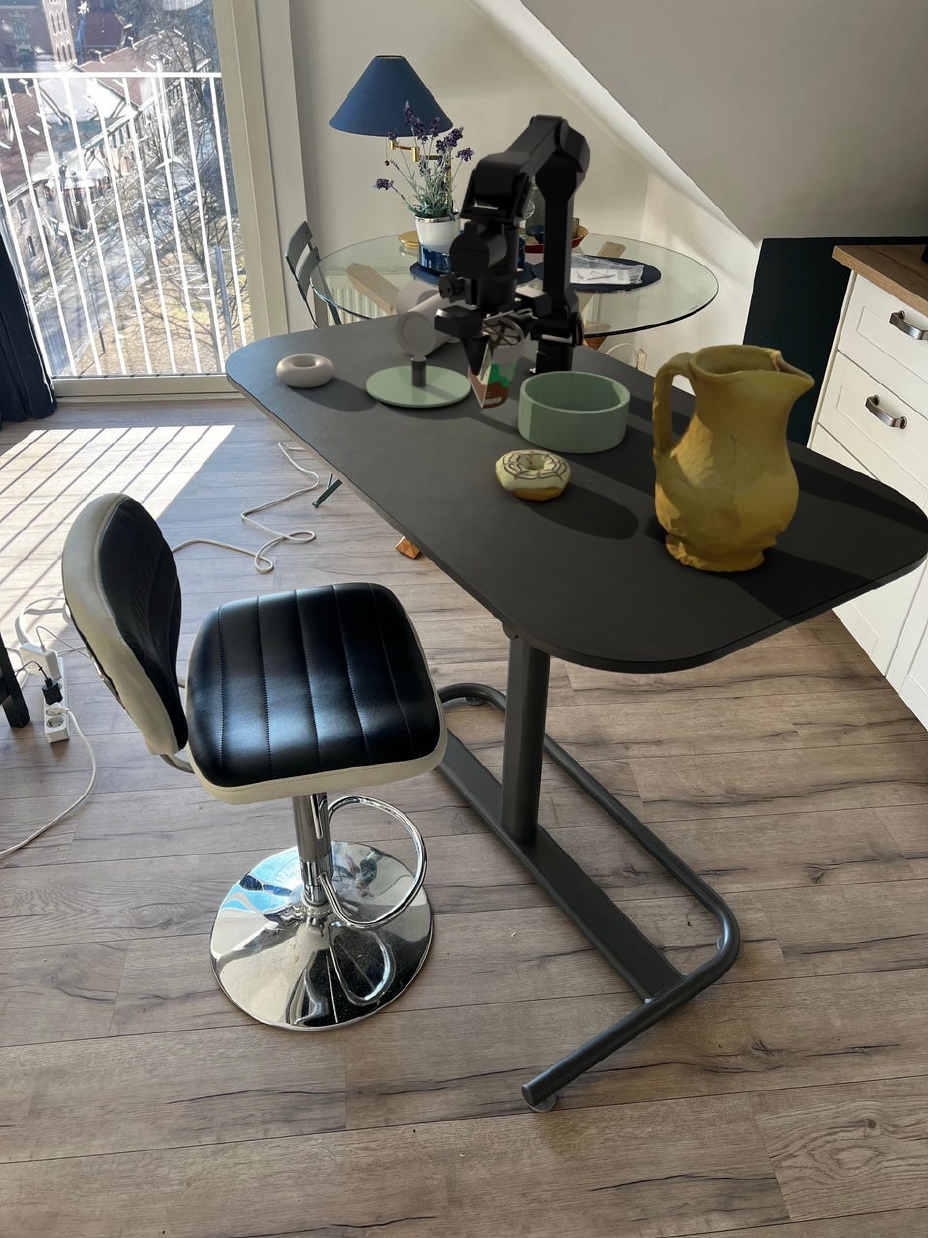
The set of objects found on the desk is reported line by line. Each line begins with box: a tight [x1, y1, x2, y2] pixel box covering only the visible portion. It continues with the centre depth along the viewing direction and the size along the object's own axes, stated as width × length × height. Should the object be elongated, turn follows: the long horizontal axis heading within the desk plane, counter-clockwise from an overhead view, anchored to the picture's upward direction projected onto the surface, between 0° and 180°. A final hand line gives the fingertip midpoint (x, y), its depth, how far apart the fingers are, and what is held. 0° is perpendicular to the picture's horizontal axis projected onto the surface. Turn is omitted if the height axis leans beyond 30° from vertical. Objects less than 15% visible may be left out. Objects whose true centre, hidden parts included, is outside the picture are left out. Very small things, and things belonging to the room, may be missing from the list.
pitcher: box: [651, 343, 816, 573], centre depth 112 cm, size 17×19×25 cm
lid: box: [365, 356, 472, 409], centre depth 157 cm, size 18×18×6 cm
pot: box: [517, 371, 631, 454], centre depth 145 cm, size 17×17×6 cm
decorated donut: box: [495, 449, 572, 502], centre depth 130 cm, size 10×11×4 cm
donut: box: [276, 353, 335, 389], centre depth 160 cm, size 10×4×10 cm
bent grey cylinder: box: [395, 280, 470, 357], centre depth 176 cm, size 18×10×20 cm
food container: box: [467, 317, 526, 410], centre depth 134 cm, size 12×6×10 cm, turn 13°
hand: (491, 369), depth 136 cm, fingers closed on food container, 6 cm apart
